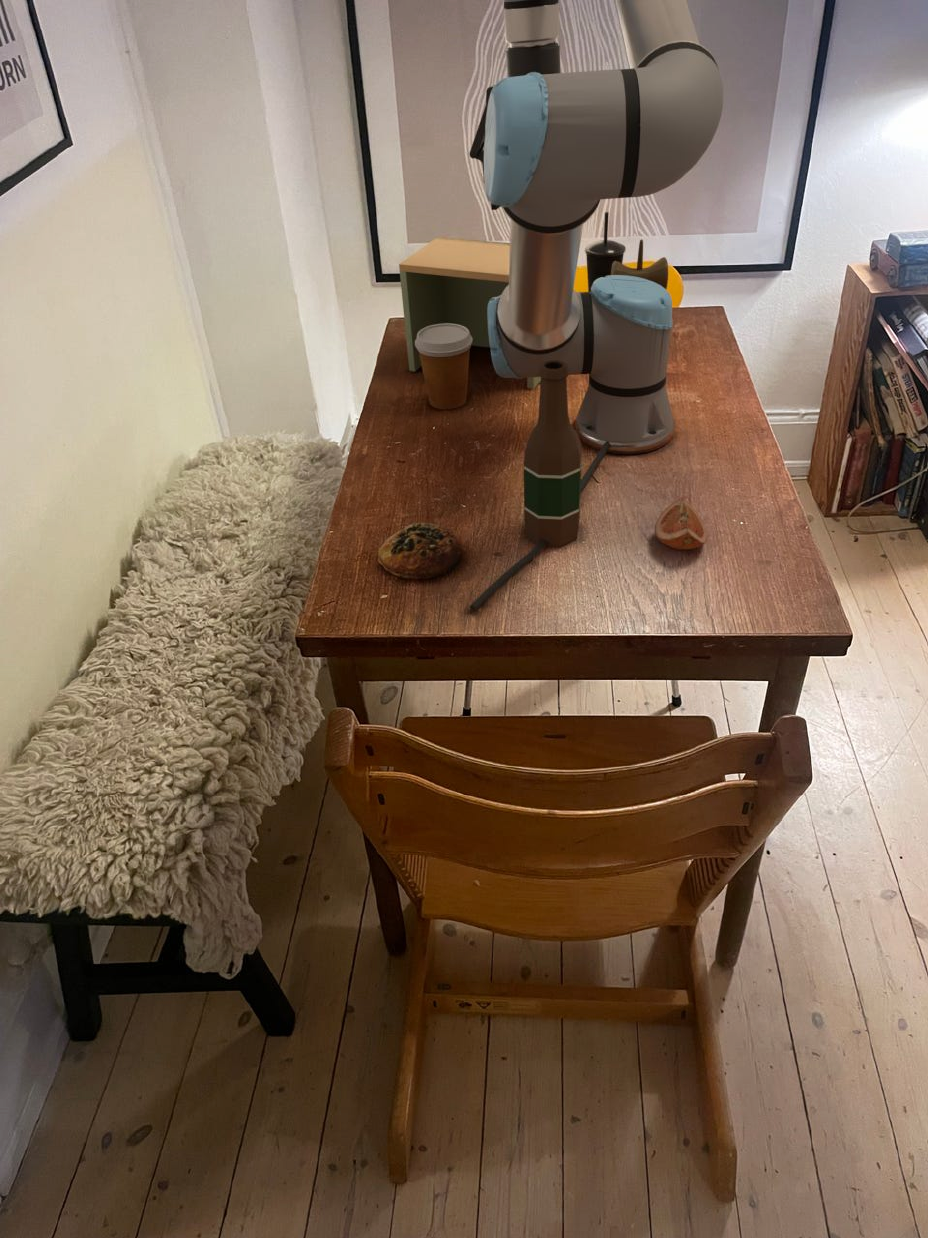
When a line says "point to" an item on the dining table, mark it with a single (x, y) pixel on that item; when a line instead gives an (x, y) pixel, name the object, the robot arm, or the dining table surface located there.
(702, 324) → the dining table surface
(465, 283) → the cabinet
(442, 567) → the bread roll
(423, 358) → the disposable coffee cup
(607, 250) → the drinking cup
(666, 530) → the fruit slice
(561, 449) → the beer bottle
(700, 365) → the dining table surface
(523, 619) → the dining table surface
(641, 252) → the kendama
